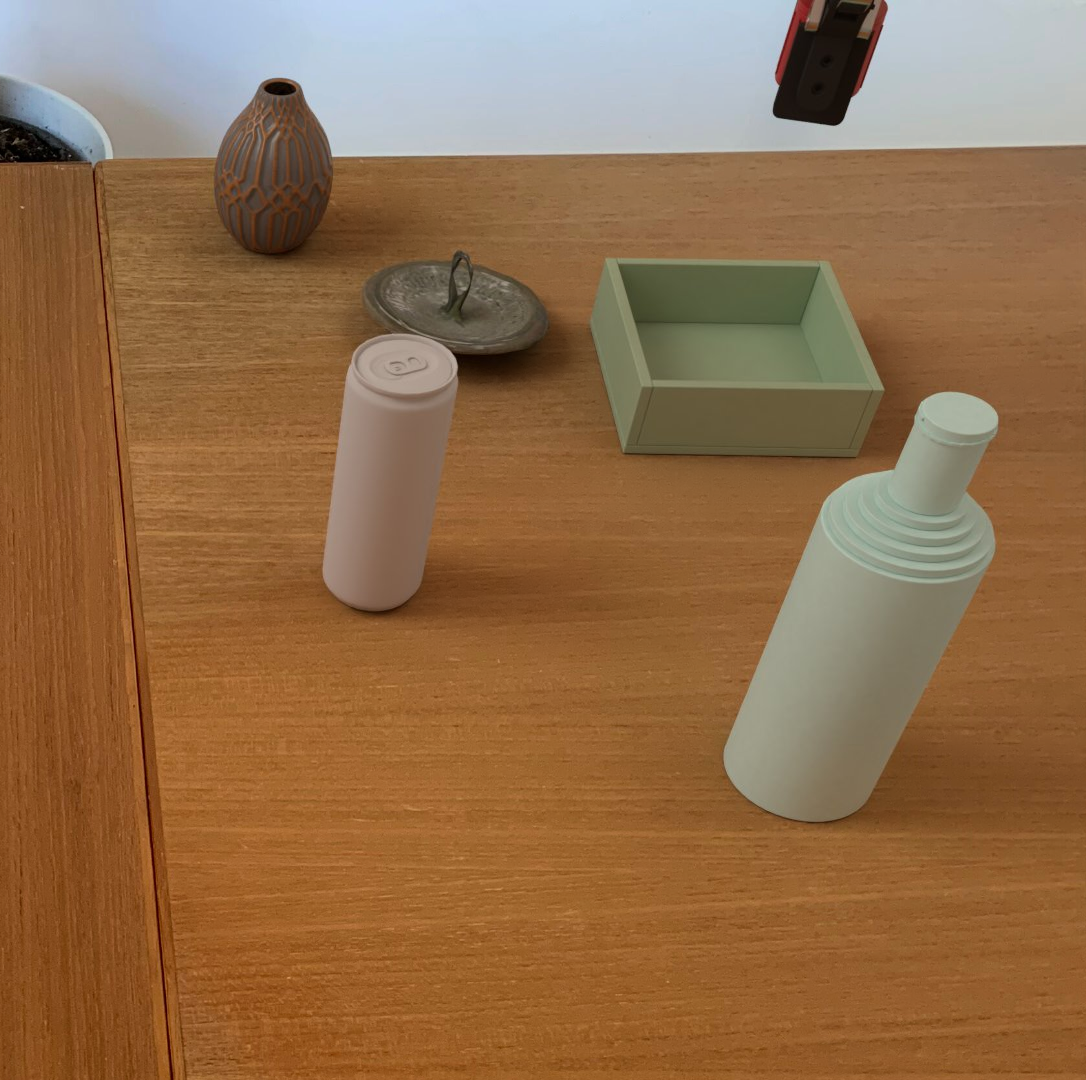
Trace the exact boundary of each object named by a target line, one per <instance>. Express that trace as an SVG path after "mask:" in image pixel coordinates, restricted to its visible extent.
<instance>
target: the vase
mask: <svg viewBox="0 0 1086 1080" xmlns="http://www.w3.org/2000/svg"><path fill="white" fill-rule="evenodd" d="M303 91H304V90H303V88H302V85H301V84H300V83H299V82H297V81H296V80H294V79H290V78H286V77H273V78H268V79H265V80H264V81H262V82H261V83H260V84H259V85H258V87H257V90H256V92H255V94H254V95H253V98H252V99H251V101H250V102H249V103H248V104H247V105H246V107H245V108H244V109H243V110H241V112H240V113H239V114H238V116H237V117H236V118H235V119H234V120H233V121H232V123H231V124H230V126H229V127H228V128H227V130H226V132H225V134H224V135H223V138H222V141H221V143H220V146H219V149H218V152H217V156H216V159H215V164H214V173H213V174H214V175H213V176H214V177H213V189H214V193H213V194H214V199H215V205H216V209H217V213H218V215H219V219H220V220H221V223H222V225H223V227H224V228H225V229H226V231H227V233H229V235H230V236H231V237H232V238H233V239H234V240H235V241H236V242H237V243H238V244H239V245H240V246H241V247H243V248H245V249H247V250H250V251H252V252H256V253H261V254H281V253H285V252H289V251H291V250H293V249H295V248H297V247H298V246H299V245H301V244H302V243H304V241H307V239H309V238H310V237H311V235H312V234H313V233H314V232H315V231H316V230H317V229H318V227H319V225H320V223H321V222H322V220H323V218H324V216H325V213H326V212H327V208H328V205H329V202H330V198H331V195H332V188H333V181H334V180H333V179H334V163H333V155H332V149H331V146H330V141H329V138H328V135H327V132H326V130H325V129H324V127H323V126H322V124H321V122H320V120H319V119H318V118H317V116H316V115H315V113H314V111H313V110H312V109H311V107H310V106H309V103H308V102H307V100H306V98H305V95H304V92H303Z"/></svg>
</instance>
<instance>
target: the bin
mask: <svg viewBox="0 0 1086 1080" xmlns="http://www.w3.org/2000/svg"><path fill="white" fill-rule="evenodd" d="M589 319H590V320H589V327H590V333H591V335H592V340H593V343H594V346H595V351H596V354H597V358H598V363H599V366H600V370H601V374H602V378H603V381H604V385H605V389H606V392H607V396H608V400H609V404H610V408H611V413H612V416H613V421H614V424H615V428H616V431H617V435H618V439H619V443H620V446H621V450H622V453H623V454H639V455H640V454H643V455H645V454H646V455H648V454H649V455H703V456H705V455H706V456H707V455H708V456H709V455H710V456H759V457H760V456H761V457H765V456H767V457H818V458H819V457H822V458H823V457H824V458H825V457H827V458H831V457H832V458H857V457H858V456H859V453H860V451H861V449H862V446H863V443H864V442H865V439H866V437H867V434H868V432H869V430H870V427H871V424H872V421H873V420H874V417H875V414H876V412H877V410H878V408H879V405H880V404H881V403H880V402H881V400H882V397H883V395H884V393H885V391H886V389H885V388H884V385H883V382H882V380H881V378H880V376H879V373H878V371H877V369H876V366H875V363H874V362H873V360H872V357H871V355H870V353H869V351H868V348H867V345H866V343H865V342H864V341H865V340H864V339H863V336H862V333H861V332H860V330H859V329H860V328H859V327H858V324H857V323H856V320H855V318H854V316H853V314H852V312H851V309H850V307H849V304H848V301H847V300H846V297H845V295H844V293H843V290H842V287H841V286H840V283H839V281H838V278H837V276H836V274H835V272H834V269H833V267H832V265H831V263H830V261H829V260H792V259H791V260H790V259H789V260H787V259H786V260H785V259H784V260H783V259H774V260H773V259H724V258H723V259H719V258H717V259H716V258H715V259H714V258H655V257H653V258H650V257H646V258H645V257H605V259H604V263H603V267H602V271H601V275H600V279H599V282H598V288H597V290H596V295H595V299H594V305H593V307H592V310H591V315H590V318H589Z"/></svg>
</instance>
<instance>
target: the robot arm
mask: <svg viewBox="0 0 1086 1080" xmlns="http://www.w3.org/2000/svg"><path fill="white" fill-rule="evenodd" d="M881 1H882V0H812V3H811V7H810V10H809V13H808V17H807V20H806V22H799V24H798V27H797V30H796V34H795V37H794V40H793V43H792V46H791V49H790V53H789V56H788V59H787V62H786V65H785V69H784V72H783V75H782V78H781V81H780V84H779V85H778V88H777V91H776V93H775V98H774V100H773V105H772V115H773V117H775V118H776V119H780V120H788V121H793V122H794V121H795V122H801V123H810V124H816V125H822V126H829V127H837V126H839V125H840V124H842V123H843V121H844V120H845V118H846V114H847V112H848V109H849V106H850V103H851V100H852V98H853V97H852V95H853V92H854V89H855V86H856V83H857V80H858V77H859V75H860V72H861V69H862V66H863V63H864V60H865V57H866V55H867V52H868V49H869V46H870V43H871V40H872V37H873V31H872V28H873V25H874V22H875V19H876V16H877V13H878V10H879V7H880V4H881ZM797 3H798V0H796V3H795V5H796V4H797ZM792 16H793V14H792V15H791V17H792ZM783 45H784V43H783ZM783 45H782V46H783ZM851 97H852V98H851Z"/></svg>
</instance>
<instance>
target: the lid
mask: <svg viewBox="0 0 1086 1080" xmlns="http://www.w3.org/2000/svg"><path fill="white" fill-rule="evenodd" d="M462 260H463V261H462ZM361 293H362V295H361V300H362V302H363V305H364V308H365V310H366V311H367V313H368V314H369V316H371V318H372V319H373V320H375V322H376V323H377V324H379V326H381V327H382V328H384V329H385V330H387V331H388V332H390V334H411V335H418V336H422V337H425V338H429V339H432V340H434V341H436V342H438V343H440V344H442V345H443V346H445V347H446V348H447V349H448V350H450V351H451V353H452V354H453V353H454V354H459V355H460V354H461V355H499V354H506V353H510V352H517V351H522V350H526V349H528V348H530V347H532V346H534V345H536V344H538V343H539V342H540V341H541V340H542V339H544V338H545V336H546V335H547V333H548V331H549V330H550V328H551V327H550V326H551V325H550V318H549V314H548V310H547V307H545V305H544V303H543V302H542V300H541V299H540V297H539V296H538V295H537V294H536V293H535V292H534V290H533V289H531V288H530V287H529V286H528V285H525V284H524V283H523V282H521V281H519V280H517V279H516V278H514V277H512V276H509V275H506V274H503V273H501V272H499V271H496V270H494V269H491V268H489V267H485V266H483V265H480V264H477V263H472V261H471V257H470V255H469V254H468V253H465V252H464V251H463V250H461V249H457V250H456V251H455V252H454V254H453V257H452V259H451V260H448V259H447V260H438V259H427V260H409V261H405V262H399V263H394V264H392V265H389V266H386V267H384V268H383V269H380V270H377V271H375V272H374V273H373V274H372V275H370V276H369V278H368V279H366V281H365V282H364V285H363V286H362V289H361Z"/></svg>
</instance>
